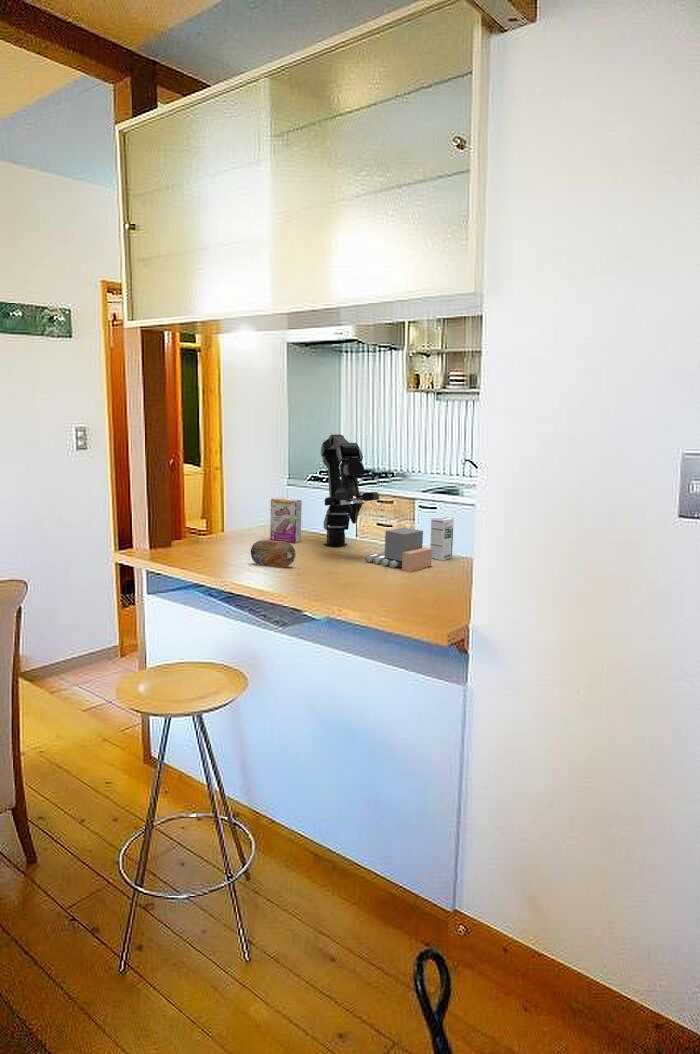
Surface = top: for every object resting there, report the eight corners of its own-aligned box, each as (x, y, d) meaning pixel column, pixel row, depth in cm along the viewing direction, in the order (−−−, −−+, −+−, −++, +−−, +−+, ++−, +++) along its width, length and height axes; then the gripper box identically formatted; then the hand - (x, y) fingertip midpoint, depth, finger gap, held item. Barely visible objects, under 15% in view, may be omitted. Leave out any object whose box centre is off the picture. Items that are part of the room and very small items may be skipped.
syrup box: (442, 560, 245) (445, 519, 242) (429, 557, 249) (431, 517, 246) (452, 558, 249) (454, 518, 246) (438, 555, 253) (440, 515, 250)
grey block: (384, 557, 235) (385, 530, 233) (403, 553, 242) (404, 527, 241) (403, 561, 230) (404, 534, 228) (421, 557, 237) (423, 530, 235)
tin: (250, 564, 231) (250, 539, 230) (254, 562, 234) (254, 537, 233) (292, 569, 227) (293, 543, 226) (296, 566, 230) (296, 541, 229)
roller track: (364, 561, 240) (365, 555, 239) (387, 556, 248) (387, 550, 248) (394, 568, 231) (394, 561, 231) (416, 563, 240) (416, 556, 239)
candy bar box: (269, 540, 272) (269, 498, 269) (275, 538, 276) (276, 497, 273) (295, 543, 268) (296, 500, 265) (301, 541, 272) (302, 499, 269)
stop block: (401, 570, 229) (402, 552, 228) (423, 564, 238) (424, 547, 237) (409, 571, 227) (410, 553, 226) (431, 566, 236) (432, 548, 235)
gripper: (315, 482, 242) (320, 527, 242) (364, 476, 234) (369, 522, 234) (329, 481, 252) (334, 525, 252) (377, 475, 244) (382, 520, 244)
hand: (354, 523), depth 246 cm, fingers closed
